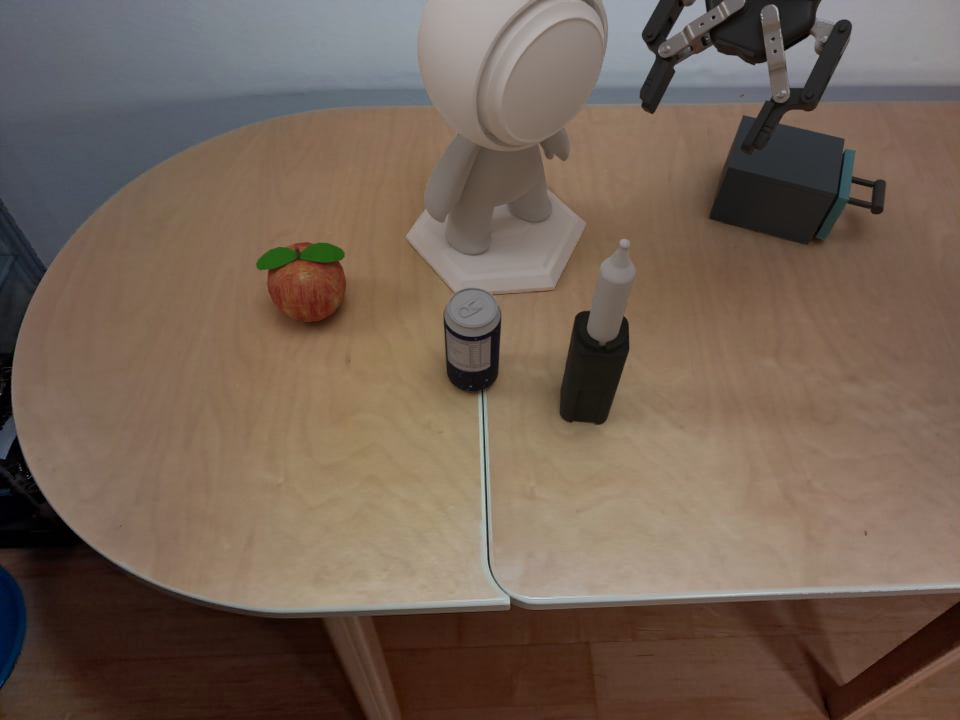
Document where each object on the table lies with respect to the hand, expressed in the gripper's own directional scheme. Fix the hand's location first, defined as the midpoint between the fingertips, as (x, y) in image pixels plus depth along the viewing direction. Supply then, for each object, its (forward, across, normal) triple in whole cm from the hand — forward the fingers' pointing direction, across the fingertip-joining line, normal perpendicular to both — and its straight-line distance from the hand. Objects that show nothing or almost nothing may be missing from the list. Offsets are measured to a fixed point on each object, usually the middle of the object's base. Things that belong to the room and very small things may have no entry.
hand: (694, 130), depth 55 cm
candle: (+28, 0, -15) cm, 31 cm away
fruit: (+33, +33, -9) cm, 47 cm away
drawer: (-2, -7, -43) cm, 44 cm away
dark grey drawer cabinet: (-1, -3, -43) cm, 43 cm away
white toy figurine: (+17, +22, -25) cm, 38 cm away
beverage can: (+30, +12, -12) cm, 35 cm away
